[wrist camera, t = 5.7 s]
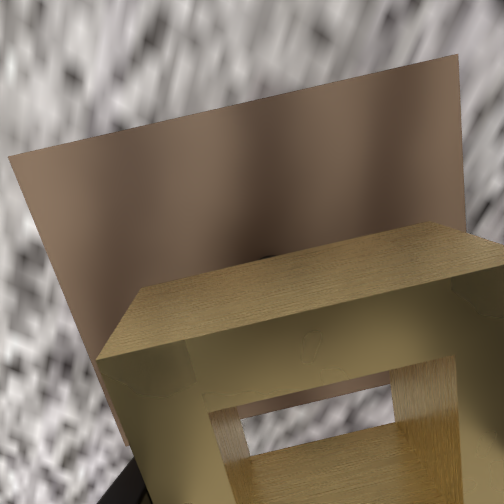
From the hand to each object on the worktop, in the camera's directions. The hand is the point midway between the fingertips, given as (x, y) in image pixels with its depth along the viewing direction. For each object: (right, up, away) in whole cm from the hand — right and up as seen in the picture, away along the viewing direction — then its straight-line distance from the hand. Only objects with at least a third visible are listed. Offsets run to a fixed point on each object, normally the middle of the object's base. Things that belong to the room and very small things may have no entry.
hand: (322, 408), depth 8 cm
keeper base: (-1, +3, +10) cm, 11 cm away
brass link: (0, 0, +1) cm, 1 cm away
